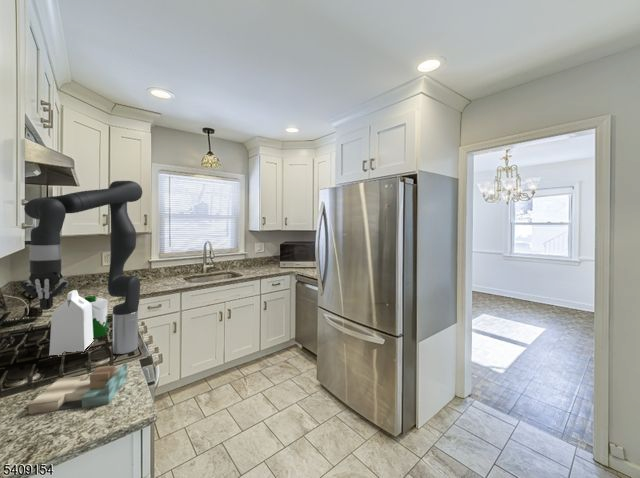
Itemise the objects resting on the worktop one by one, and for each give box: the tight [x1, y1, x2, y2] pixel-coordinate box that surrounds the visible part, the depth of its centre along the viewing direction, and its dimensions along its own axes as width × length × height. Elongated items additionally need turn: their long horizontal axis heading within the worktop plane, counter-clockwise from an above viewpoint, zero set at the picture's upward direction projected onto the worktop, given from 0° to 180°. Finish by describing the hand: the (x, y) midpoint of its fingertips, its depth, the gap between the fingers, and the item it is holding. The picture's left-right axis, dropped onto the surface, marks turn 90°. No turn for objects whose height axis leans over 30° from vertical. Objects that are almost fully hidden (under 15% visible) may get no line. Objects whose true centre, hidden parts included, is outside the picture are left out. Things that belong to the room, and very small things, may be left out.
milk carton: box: [84, 295, 109, 339], centre depth 135 cm, size 9×9×20 cm
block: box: [89, 365, 116, 390], centre depth 90 cm, size 5×5×5 cm
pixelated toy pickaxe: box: [28, 363, 128, 415], centre depth 89 cm, size 14×20×6 cm
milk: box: [48, 289, 94, 357], centre depth 120 cm, size 12×12×26 cm
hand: (46, 309), depth 92 cm, fingers closed
